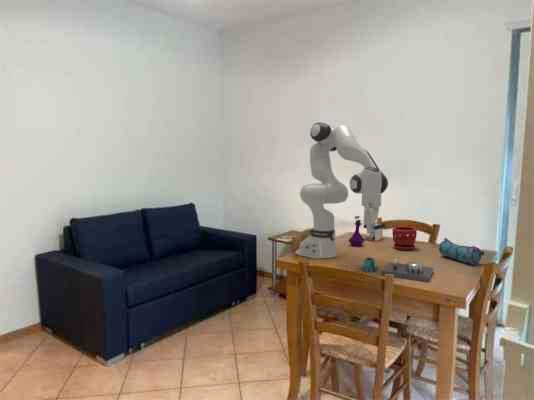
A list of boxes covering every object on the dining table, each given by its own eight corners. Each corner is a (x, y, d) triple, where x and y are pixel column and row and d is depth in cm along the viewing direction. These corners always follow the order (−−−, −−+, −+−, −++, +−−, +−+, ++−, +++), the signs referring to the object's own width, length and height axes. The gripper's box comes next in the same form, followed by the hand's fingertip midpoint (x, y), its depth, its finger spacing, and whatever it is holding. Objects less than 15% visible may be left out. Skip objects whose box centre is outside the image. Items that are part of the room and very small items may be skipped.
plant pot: (420, 249, 226) (421, 228, 224) (406, 252, 219) (407, 231, 217) (401, 244, 237) (402, 225, 235) (387, 247, 229) (387, 227, 228)
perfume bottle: (353, 243, 241) (353, 214, 238) (364, 245, 236) (365, 215, 234) (348, 245, 235) (348, 215, 232) (360, 247, 230) (360, 217, 228)
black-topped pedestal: (363, 233, 270) (364, 214, 269) (401, 238, 254) (402, 218, 252) (343, 241, 249) (344, 220, 247) (383, 247, 232) (384, 224, 231)
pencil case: (483, 264, 195) (484, 245, 193) (471, 266, 191) (472, 247, 190) (449, 254, 214) (449, 237, 212) (436, 256, 210) (437, 238, 209)
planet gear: (358, 270, 186) (359, 259, 186) (363, 266, 193) (363, 256, 192) (375, 272, 182) (375, 262, 182) (379, 268, 189) (380, 258, 188)
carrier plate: (381, 274, 179) (381, 262, 178) (389, 266, 193) (389, 254, 192) (428, 282, 169) (428, 268, 168) (433, 272, 183) (433, 259, 182)
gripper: (375, 205, 173) (374, 236, 175) (381, 200, 192) (380, 228, 193) (360, 204, 175) (359, 235, 177) (367, 199, 194) (367, 227, 196)
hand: (370, 231), depth 185 cm, fingers open, 8 cm apart
